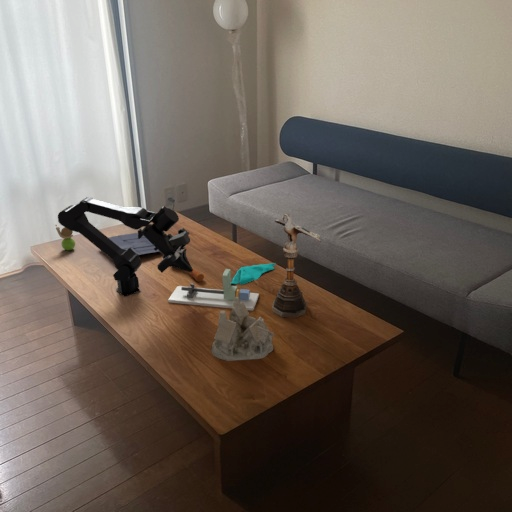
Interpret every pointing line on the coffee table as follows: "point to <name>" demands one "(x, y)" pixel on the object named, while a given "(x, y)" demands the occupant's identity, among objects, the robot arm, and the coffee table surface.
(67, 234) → the snail figurine
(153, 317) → the coffee table surface
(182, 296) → the white board with rod
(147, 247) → the papers
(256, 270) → the cloth
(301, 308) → the bird statue
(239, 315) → the ceramic cottage
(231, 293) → the sage green stepped block
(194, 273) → the kendama
